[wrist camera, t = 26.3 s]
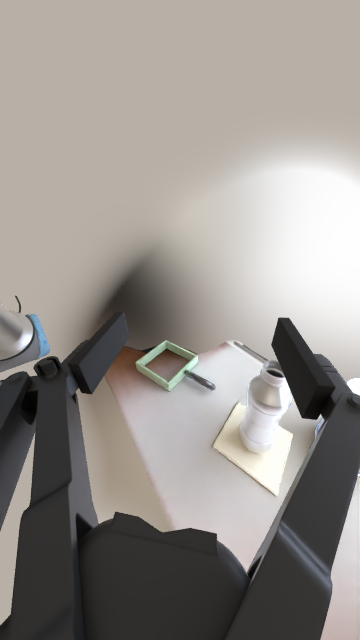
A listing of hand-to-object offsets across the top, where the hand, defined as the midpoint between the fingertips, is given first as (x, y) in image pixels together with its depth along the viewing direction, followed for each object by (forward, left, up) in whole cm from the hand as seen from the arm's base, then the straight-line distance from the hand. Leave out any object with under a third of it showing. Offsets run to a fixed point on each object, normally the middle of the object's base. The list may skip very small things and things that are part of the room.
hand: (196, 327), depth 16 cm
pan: (-18, +17, -32) cm, 40 cm away
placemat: (+6, +12, -32) cm, 35 cm away
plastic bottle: (+6, +12, -32) cm, 35 cm away
